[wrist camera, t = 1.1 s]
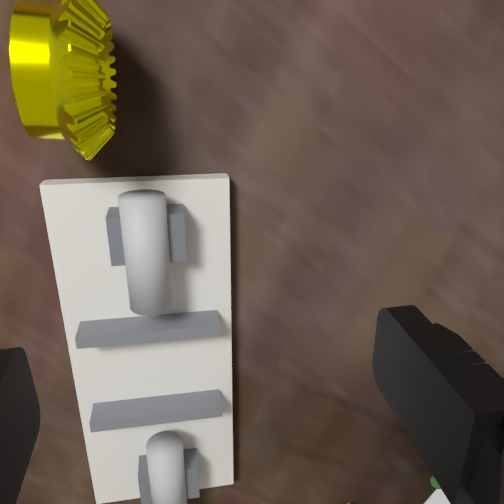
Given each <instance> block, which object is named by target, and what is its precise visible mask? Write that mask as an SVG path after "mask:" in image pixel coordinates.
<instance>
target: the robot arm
mask: <svg viewBox="0 0 504 504" xmlns="http://www.w3.org/2000/svg"><path fill="white" fill-rule="evenodd" d="M373 373H374V378H375V381H376V384H377V386H378V388H379V390H380V391H381V393H382V395H383V396H384V398H385V399H386V401H387V403H388V404H389V406H390V407H391V409H392V411H393V412H394V414H395V415H396V417H397V419H398V420H399V422H400V423H401V425H402V427H403V428H404V430H405V431H406V433H407V435H408V436H409V438H410V439H411V441H412V443H413V444H414V446H415V447H416V449H417V451H418V452H419V454H420V455H421V457H422V459H423V460H424V462H425V463H426V465H427V467H428V468H429V470H430V471H431V473H432V475H433V476H434V478H435V479H436V481H437V483H438V484H439V486H440V487H441V489H442V491H443V492H444V494H445V495H446V497H447V499H448V500H449V502H450V503H451V504H504V379H503V378H502V377H501V376H500V375H499V374H498V373H497V372H496V371H495V370H494V369H493V368H492V367H491V366H490V365H488V364H485V361H484V360H483V359H482V358H481V357H480V356H479V355H478V354H477V353H476V352H473V349H472V348H471V347H470V346H469V345H468V344H467V343H466V342H465V341H464V340H463V339H462V338H461V337H460V336H459V335H458V334H456V333H454V332H453V331H451V330H449V329H447V328H445V327H444V326H442V325H440V324H438V323H435V324H432V323H431V322H430V321H429V320H428V319H427V318H426V317H425V316H424V315H423V314H422V313H421V312H420V310H419V309H418V308H417V307H415V306H414V305H407V306H398V307H389V308H382V309H381V310H380V311H379V313H378V317H377V326H376V335H375V344H374V353H373ZM39 427H40V406H39V401H38V397H37V394H36V390H35V386H34V382H33V379H32V375H31V371H30V367H29V363H28V360H27V356H26V353H25V351H24V349H23V348H21V347H17V348H8V349H0V504H16V501H17V498H18V495H19V492H20V489H21V486H22V482H23V479H24V476H25V473H26V470H27V467H28V464H29V461H30V458H31V454H32V451H33V448H34V445H35V442H36V439H37V436H38V432H39Z"/></svg>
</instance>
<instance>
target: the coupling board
mask: <svg viewBox="0 0 504 504" xmlns="http://www.w3.org/2000/svg"><path fill="white" fill-rule="evenodd" d="M39 186H40V191H41V197H42V203H43V208H44V214H45V219H46V225H47V231H48V236H49V242H50V247H51V253H52V258H53V264H54V270H55V275H56V281H57V286H58V292H59V298H60V303H61V309H62V314H63V320H64V326H65V331H66V337H67V342H68V348H69V354H70V359H71V365H72V370H73V376H74V382H75V387H76V393H77V398H78V404H79V410H80V415H81V421H82V426H83V432H84V438H85V443H86V449H87V454H88V460H89V466H90V471H91V477H92V482H93V488H94V493H95V499H96V504H101V503H108V502H115V501H121V500H128V499H135V498H140V499H141V504H187V499H191V498H198V497H200V493H199V489H203V488H210V487H217V486H224V485H230V484H234V482H233V408H232V334H231V259H230V185H229V176H228V174H227V173H221V174H193V175H166V176H138V177H111V178H84V179H56V180H44V181H43V182H42V183H41V184H40V185H39Z"/></svg>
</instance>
